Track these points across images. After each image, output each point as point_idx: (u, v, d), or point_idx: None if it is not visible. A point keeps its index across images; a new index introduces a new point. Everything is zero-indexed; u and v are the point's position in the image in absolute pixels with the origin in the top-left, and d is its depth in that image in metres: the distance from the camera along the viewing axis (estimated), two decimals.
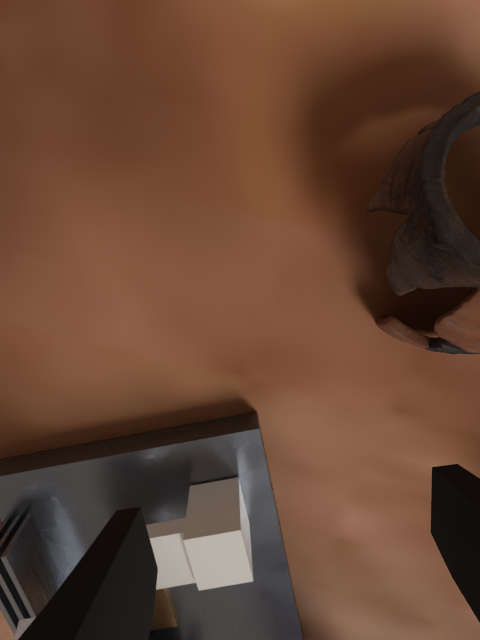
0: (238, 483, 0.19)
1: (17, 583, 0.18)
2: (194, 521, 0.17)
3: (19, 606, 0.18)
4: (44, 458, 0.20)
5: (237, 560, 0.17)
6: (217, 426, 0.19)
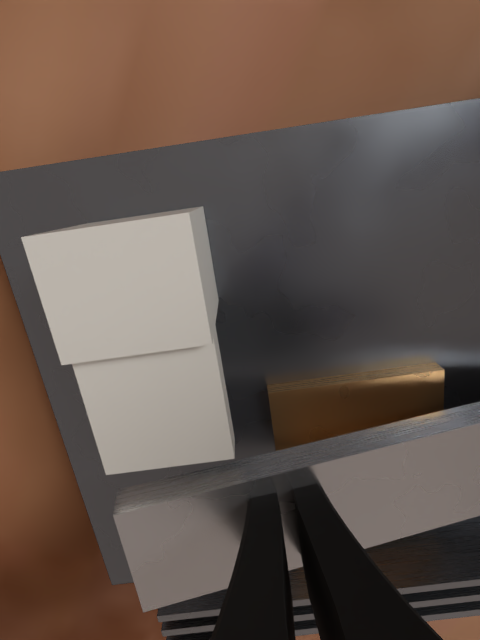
0: (84, 225, 0.09)
1: (214, 611, 0.11)
2: None
3: None
4: None
5: (118, 249, 0.07)
6: None
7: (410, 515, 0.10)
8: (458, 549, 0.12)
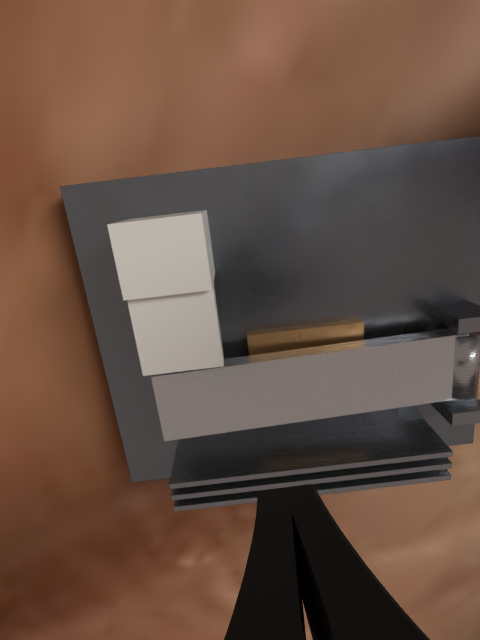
0: (130, 219, 0.15)
1: (207, 481, 0.16)
2: None
3: (244, 486, 0.16)
4: None
5: (161, 233, 0.12)
6: None
7: (328, 403, 0.16)
8: (373, 445, 0.17)
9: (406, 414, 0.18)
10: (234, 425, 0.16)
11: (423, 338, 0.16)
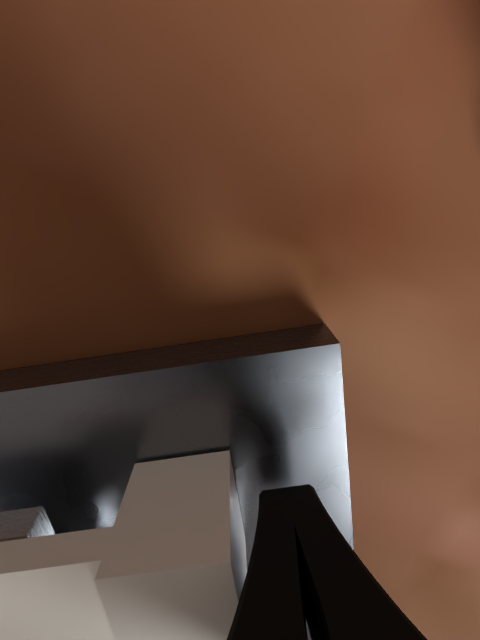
0: (228, 461, 0.10)
1: None
2: (129, 535, 0.08)
3: None
4: None
5: (219, 627, 0.07)
6: (252, 343, 0.10)
7: None
8: None
9: None
10: None
11: None
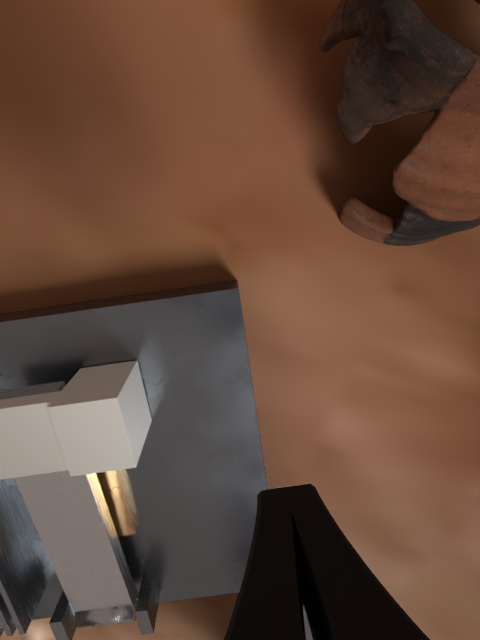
0: (135, 365, 0.16)
1: None
2: (69, 393, 0.14)
3: None
4: None
5: (115, 438, 0.14)
6: (190, 290, 0.17)
7: (53, 532, 0.17)
8: (15, 568, 0.18)
9: (50, 570, 0.20)
10: None
11: (126, 585, 0.19)
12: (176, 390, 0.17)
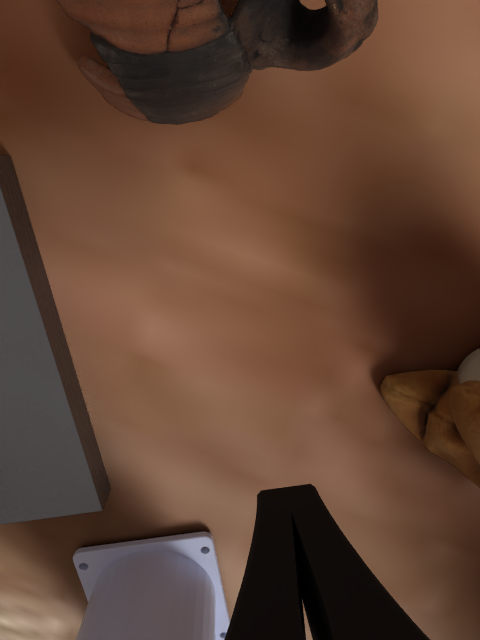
0: None
1: None
2: None
3: None
4: None
5: None
6: None
7: None
8: None
9: None
10: None
11: None
12: None
